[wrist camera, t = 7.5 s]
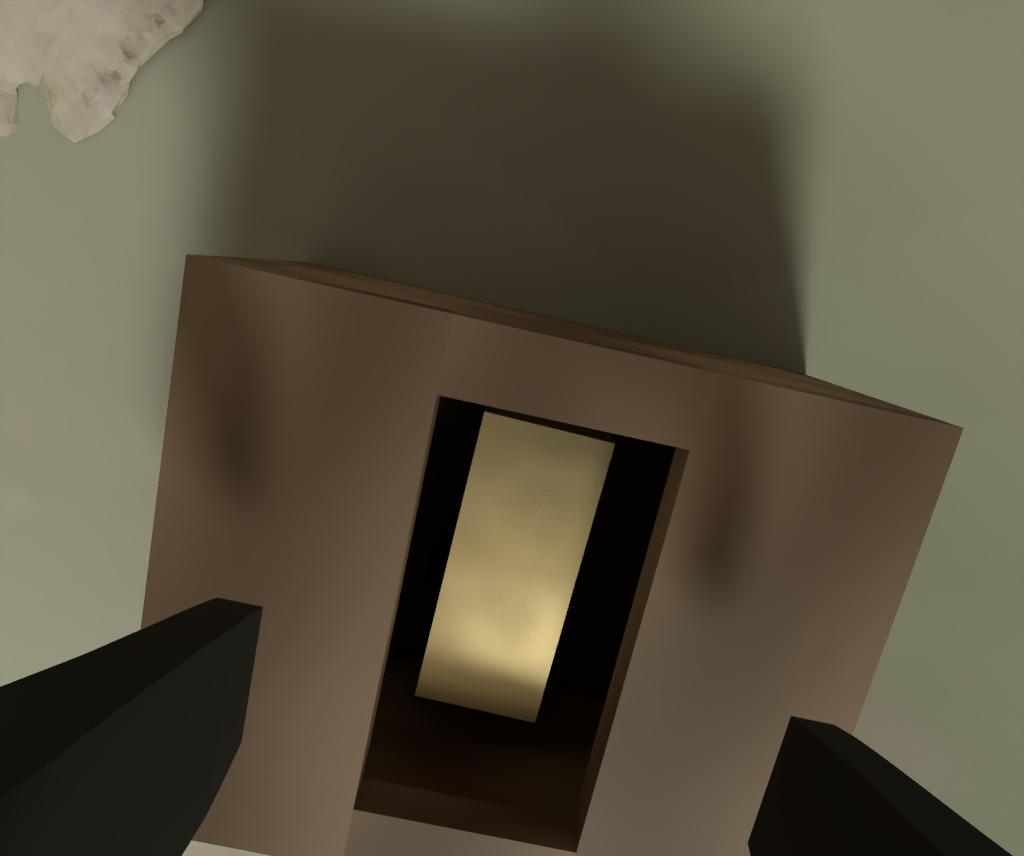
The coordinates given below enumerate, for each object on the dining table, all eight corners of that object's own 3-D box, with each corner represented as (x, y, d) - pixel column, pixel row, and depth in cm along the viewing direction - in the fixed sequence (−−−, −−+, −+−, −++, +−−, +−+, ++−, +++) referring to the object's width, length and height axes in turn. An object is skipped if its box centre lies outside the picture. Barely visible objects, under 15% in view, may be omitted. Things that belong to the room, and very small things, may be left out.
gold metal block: (592, 405, 17) (615, 443, 13) (530, 627, 18) (534, 722, 14) (491, 380, 17) (484, 411, 13) (436, 605, 18) (414, 695, 14)
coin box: (806, 375, 17) (963, 428, 11) (693, 740, 19) (773, 951, 13) (305, 262, 16) (186, 254, 10) (244, 650, 18) (116, 826, 12)
